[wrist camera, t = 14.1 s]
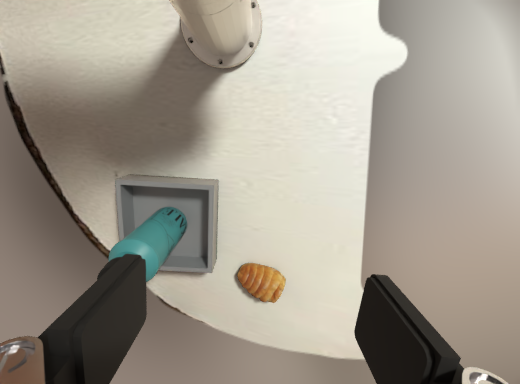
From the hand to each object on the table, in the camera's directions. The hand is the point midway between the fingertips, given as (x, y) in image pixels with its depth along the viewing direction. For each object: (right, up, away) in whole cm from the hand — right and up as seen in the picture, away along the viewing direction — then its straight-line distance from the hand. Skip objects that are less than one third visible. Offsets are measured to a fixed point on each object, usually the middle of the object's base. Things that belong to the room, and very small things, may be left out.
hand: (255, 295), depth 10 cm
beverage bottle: (-16, -1, +36) cm, 39 cm away
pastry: (+1, -13, +41) cm, 43 cm away
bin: (-16, -1, +37) cm, 40 cm away
